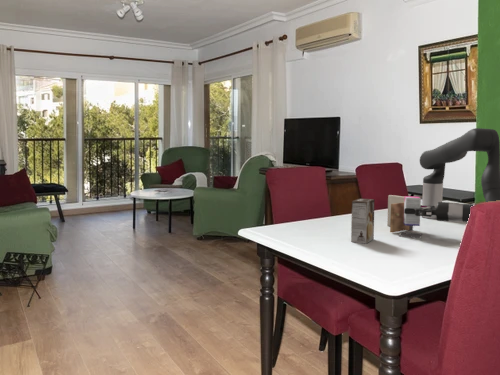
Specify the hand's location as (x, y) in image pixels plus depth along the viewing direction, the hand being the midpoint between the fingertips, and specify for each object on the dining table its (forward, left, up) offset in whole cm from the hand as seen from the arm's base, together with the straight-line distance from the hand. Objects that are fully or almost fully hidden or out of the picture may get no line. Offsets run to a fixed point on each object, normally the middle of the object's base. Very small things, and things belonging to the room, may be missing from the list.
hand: (406, 209), depth 187 cm
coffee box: (+18, -13, -11) cm, 25 cm away
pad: (0, +2, -11) cm, 11 cm away
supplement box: (0, +2, -6) cm, 7 cm away
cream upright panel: (-14, -4, -11) cm, 18 cm away
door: (-5, -2, -10) cm, 11 cm away
